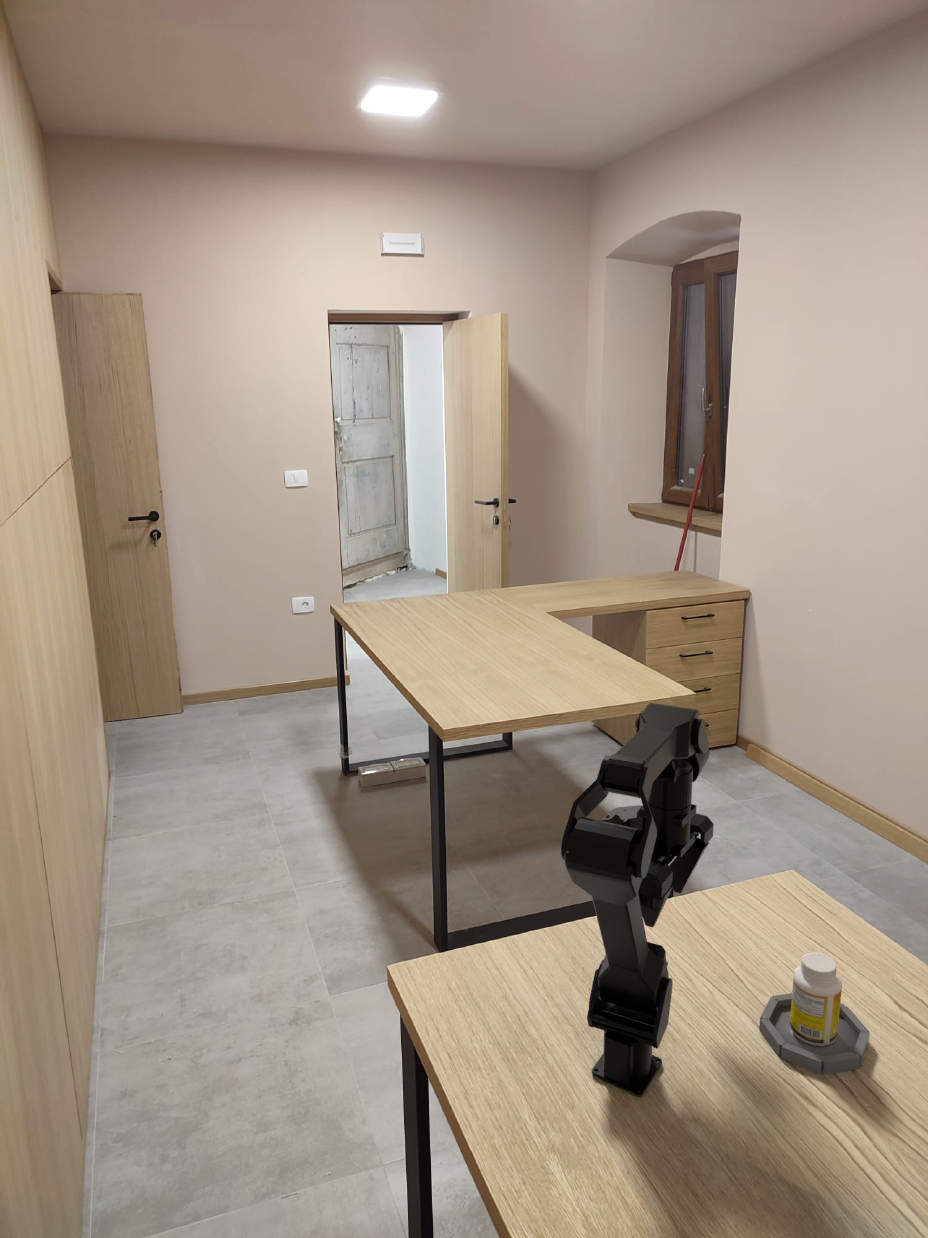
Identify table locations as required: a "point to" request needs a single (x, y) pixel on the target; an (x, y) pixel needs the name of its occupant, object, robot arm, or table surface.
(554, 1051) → the table surface
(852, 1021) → the dish
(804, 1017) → the supplement bottle
